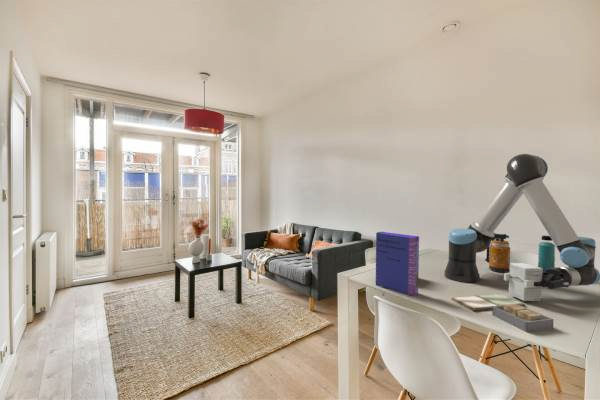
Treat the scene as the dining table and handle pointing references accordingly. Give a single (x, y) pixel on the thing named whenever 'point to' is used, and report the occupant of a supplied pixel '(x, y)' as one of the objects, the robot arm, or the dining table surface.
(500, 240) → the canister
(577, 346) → the dining table surface
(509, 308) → the oak block
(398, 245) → the cereal box
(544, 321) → the grey tray
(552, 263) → the beverage bottle
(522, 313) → the oak block
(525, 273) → the supplement box
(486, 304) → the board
